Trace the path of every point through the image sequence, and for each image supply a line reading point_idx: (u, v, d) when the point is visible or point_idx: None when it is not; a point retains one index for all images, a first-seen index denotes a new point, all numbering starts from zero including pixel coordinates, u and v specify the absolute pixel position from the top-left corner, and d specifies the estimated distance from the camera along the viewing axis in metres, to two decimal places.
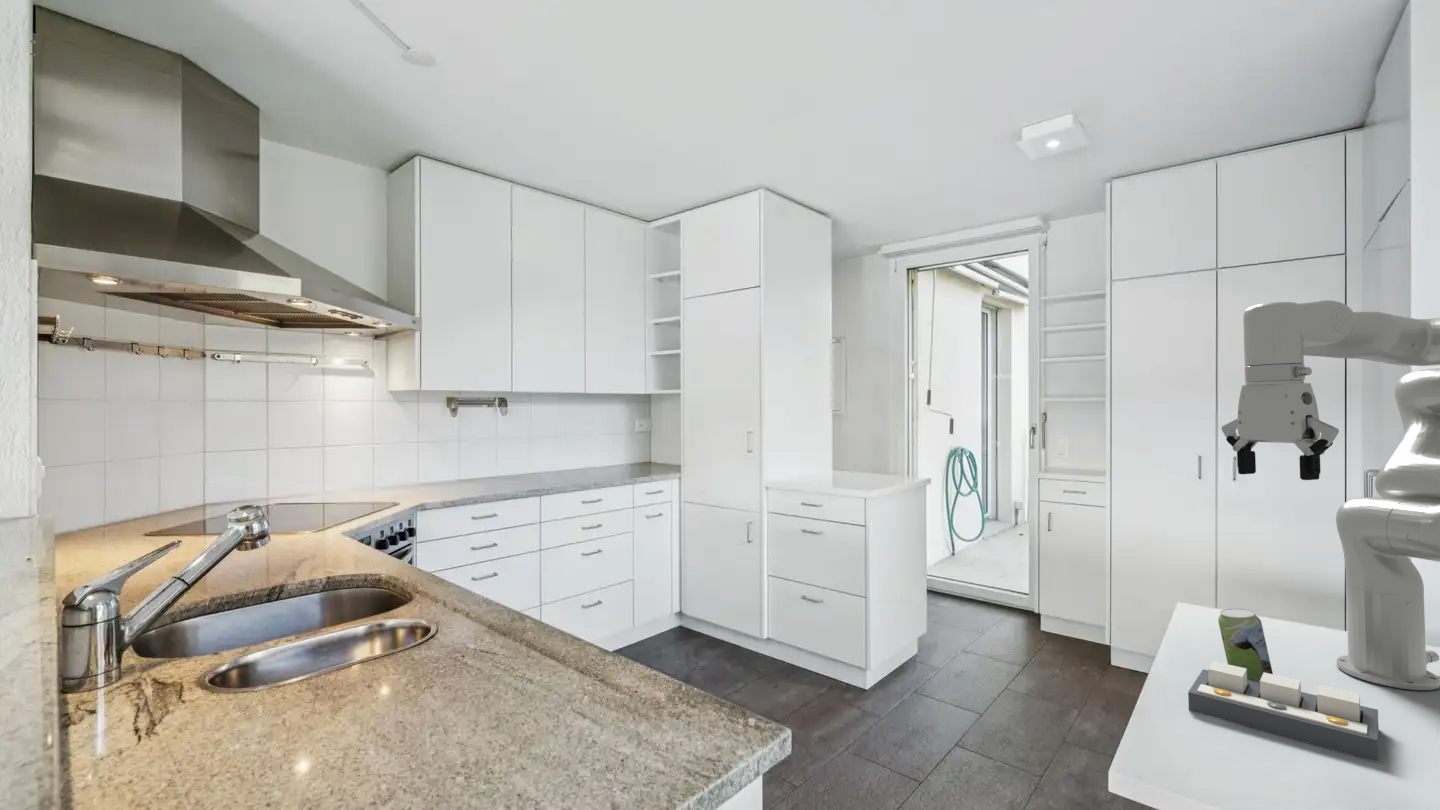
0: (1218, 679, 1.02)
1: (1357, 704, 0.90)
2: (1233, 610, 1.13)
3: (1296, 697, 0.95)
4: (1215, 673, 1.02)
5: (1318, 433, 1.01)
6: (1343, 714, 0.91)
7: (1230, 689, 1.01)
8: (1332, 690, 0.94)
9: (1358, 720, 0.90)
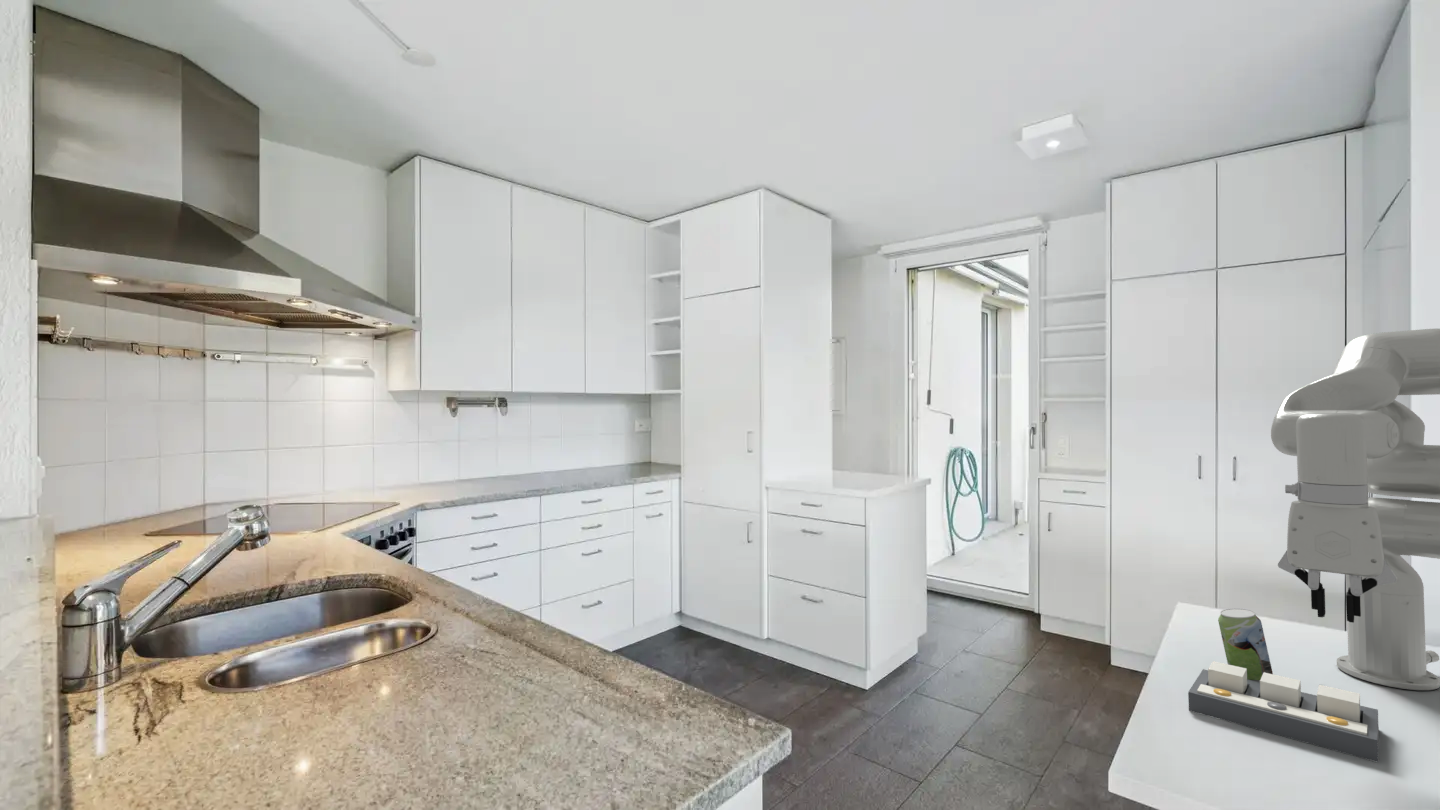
0: (1218, 679, 1.02)
1: (1357, 704, 0.90)
2: (1233, 610, 1.13)
3: (1296, 697, 0.95)
4: (1215, 673, 1.02)
5: (1287, 556, 0.96)
6: (1343, 714, 0.91)
7: (1230, 689, 1.01)
8: (1332, 690, 0.94)
9: (1358, 720, 0.90)
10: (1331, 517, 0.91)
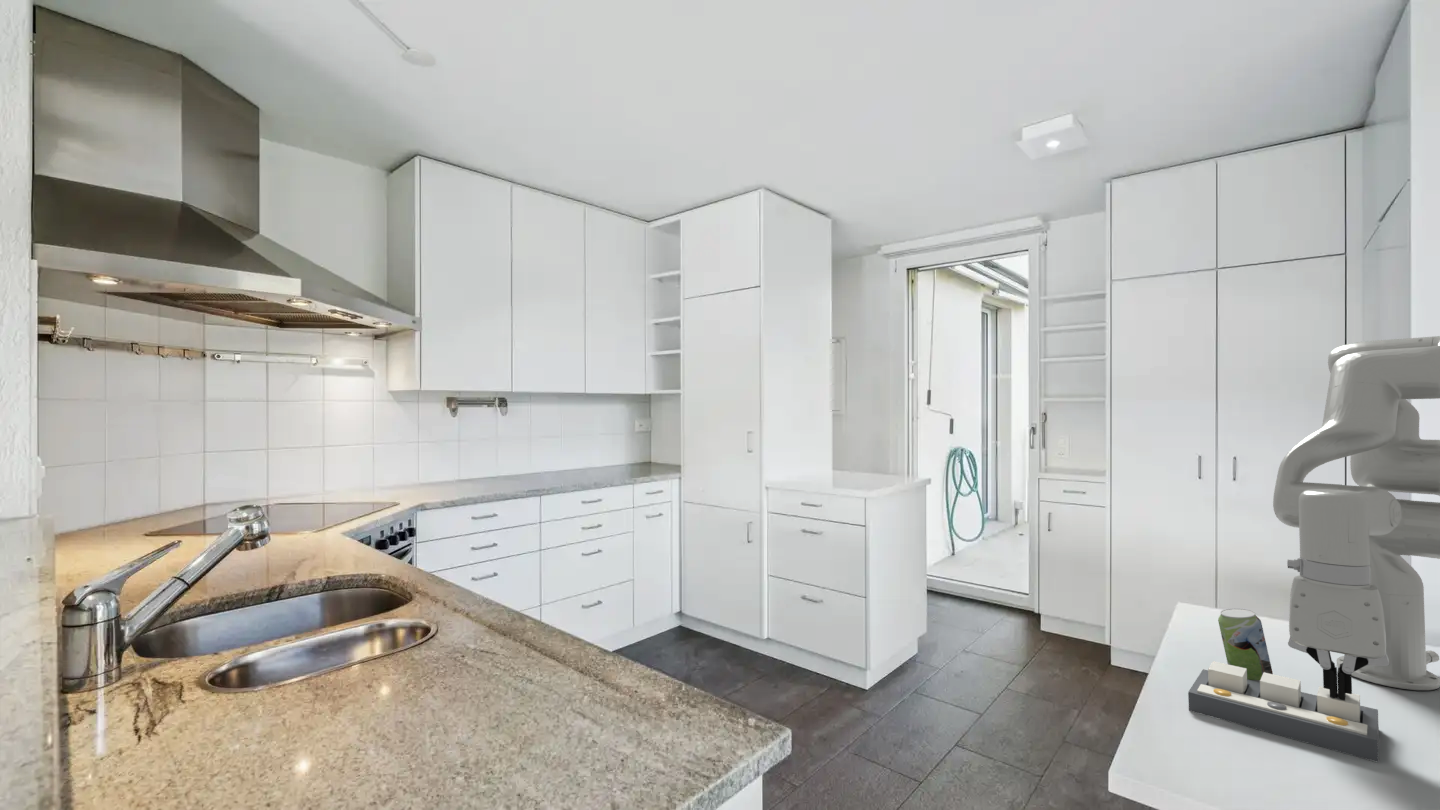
0: (1218, 679, 1.02)
1: (1357, 706, 0.90)
2: (1233, 610, 1.13)
3: (1296, 697, 0.95)
4: (1215, 673, 1.02)
5: None
6: (1343, 716, 0.91)
7: (1230, 689, 1.01)
8: None
9: None
10: (1333, 597, 0.91)
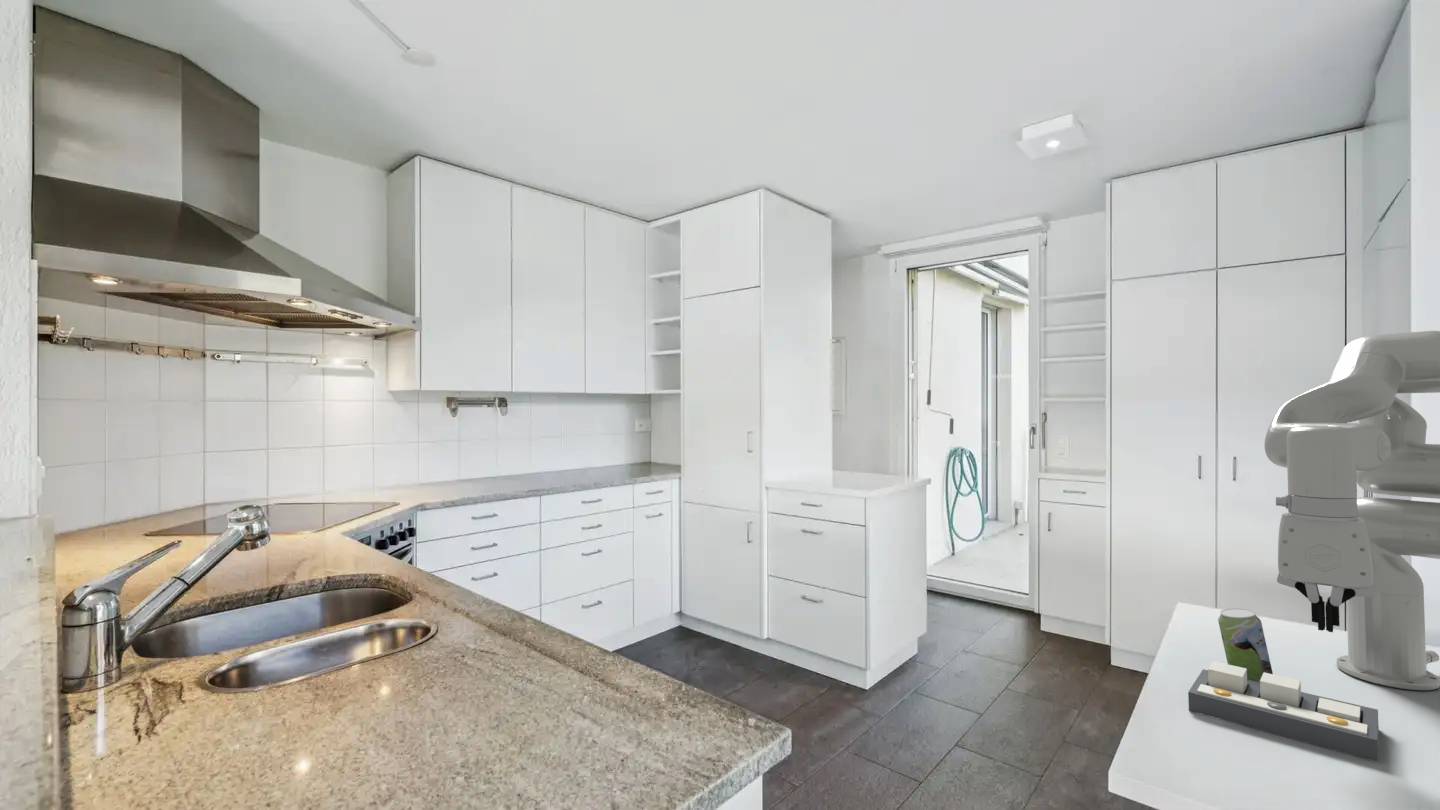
0: (1218, 679, 1.02)
1: (1357, 718, 0.90)
2: (1233, 610, 1.13)
3: (1296, 697, 0.95)
4: (1215, 673, 1.02)
5: (1278, 568, 0.96)
6: None
7: (1230, 689, 1.01)
8: (1332, 703, 0.94)
9: None
10: (1321, 530, 0.92)
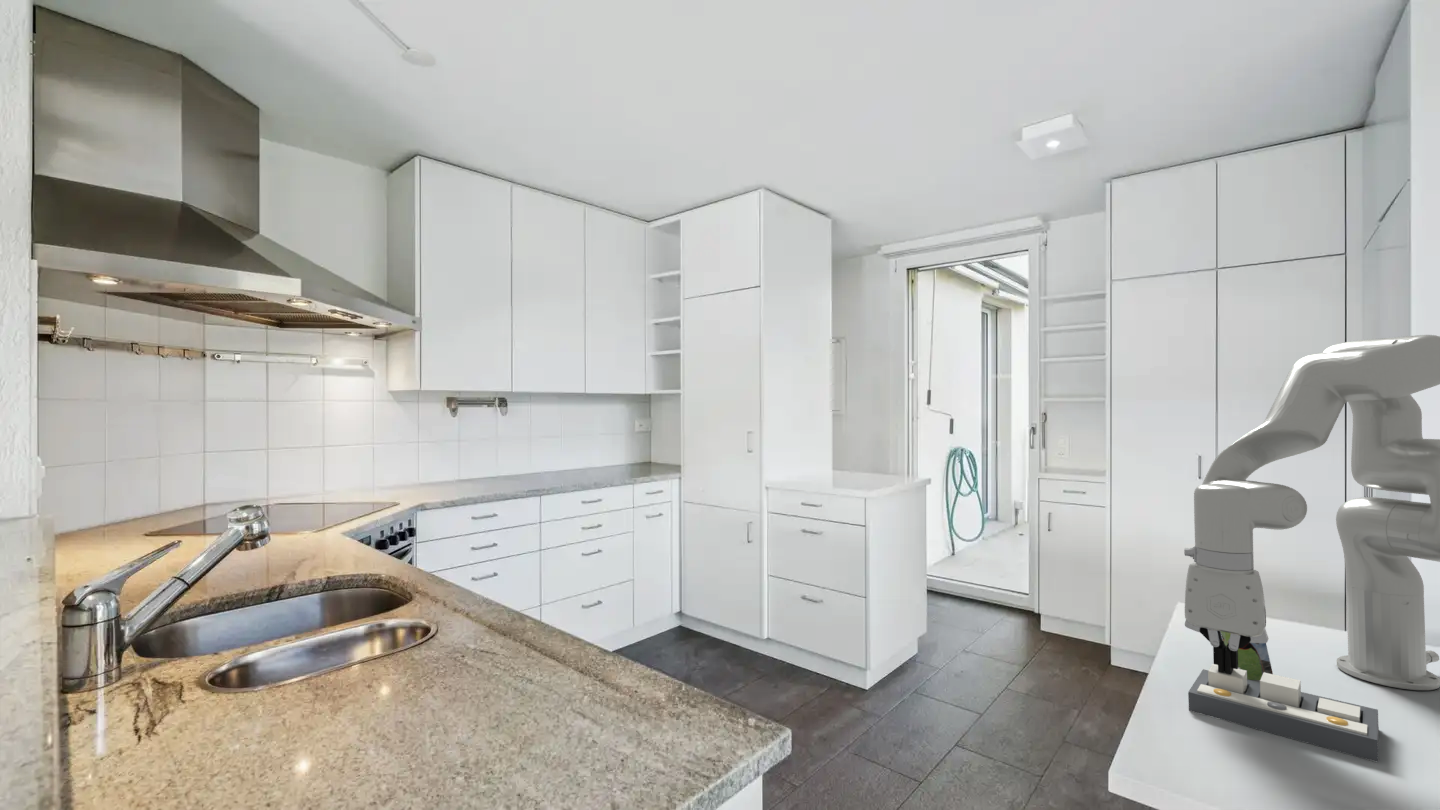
0: (1218, 681, 1.02)
1: (1357, 718, 0.90)
2: None
3: (1296, 697, 0.95)
4: (1215, 675, 1.02)
5: None
6: None
7: None
8: (1332, 703, 0.94)
9: None
10: (1220, 581, 1.01)
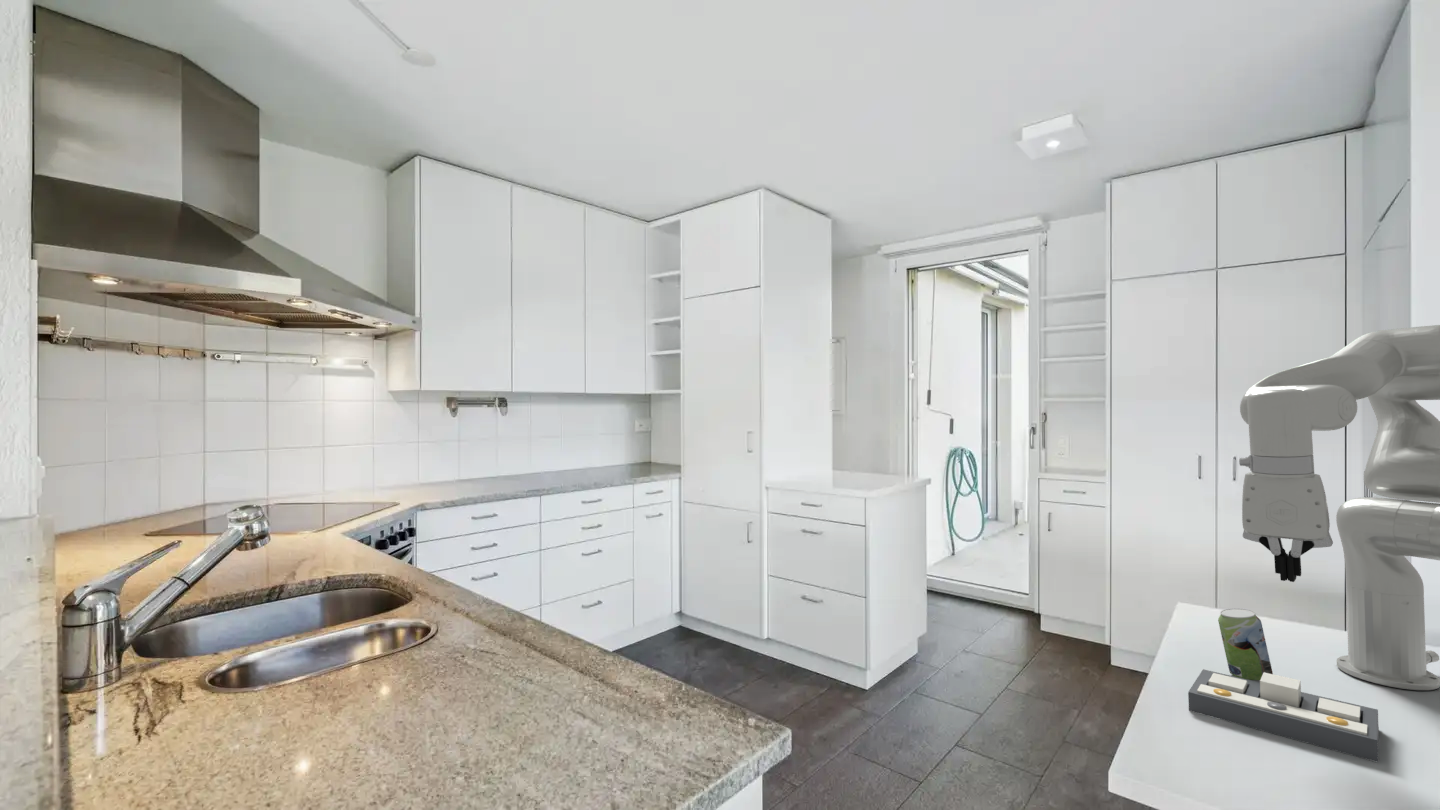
0: None
1: (1357, 718, 0.90)
2: (1233, 610, 1.13)
3: (1296, 697, 0.95)
4: (1215, 685, 1.02)
5: None
6: None
7: None
8: (1332, 703, 0.94)
9: None
10: (1280, 487, 0.98)
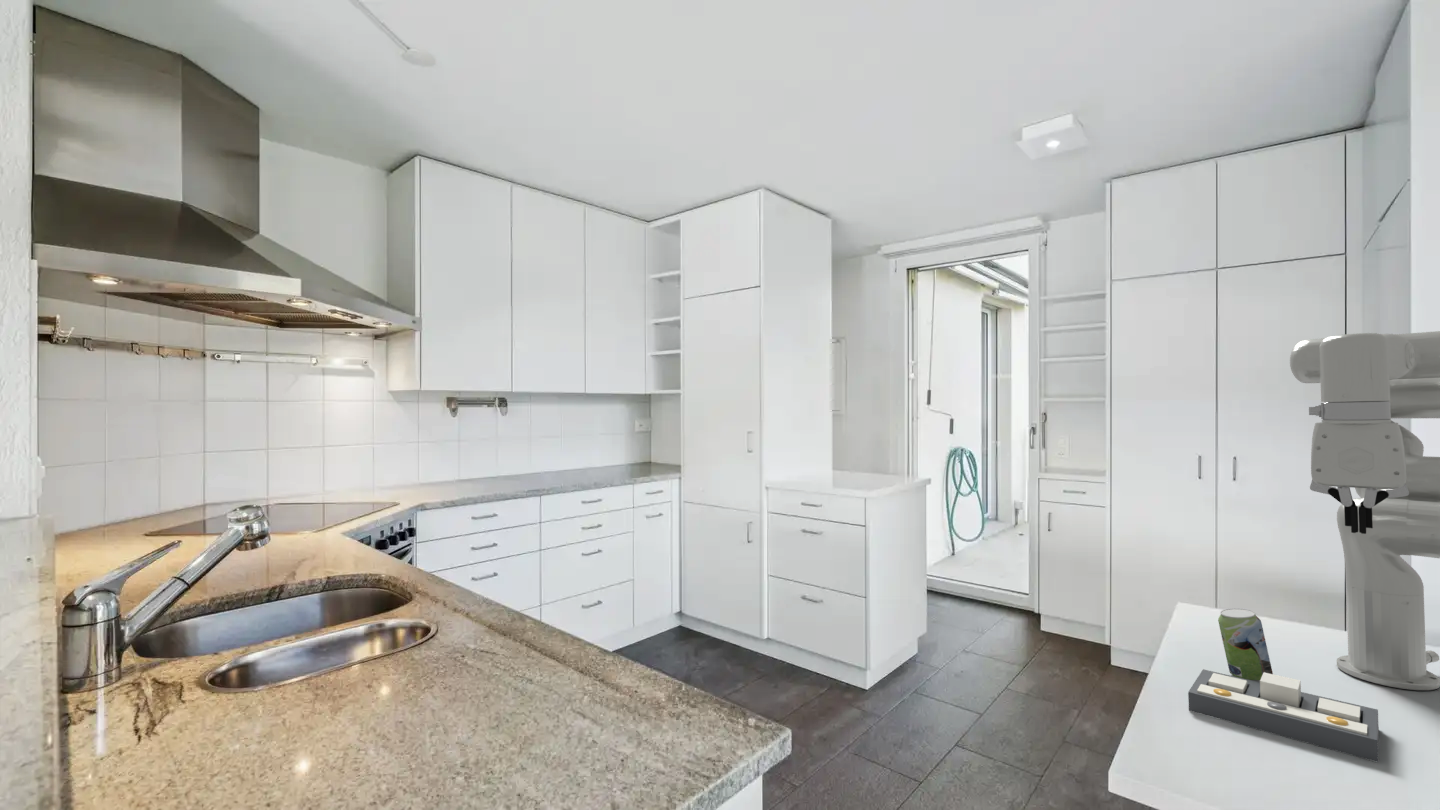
0: None
1: (1357, 718, 0.90)
2: (1233, 610, 1.13)
3: (1296, 697, 0.95)
4: (1215, 685, 1.02)
5: (1311, 475, 0.99)
6: None
7: None
8: (1332, 703, 0.94)
9: None
10: (1355, 434, 0.94)
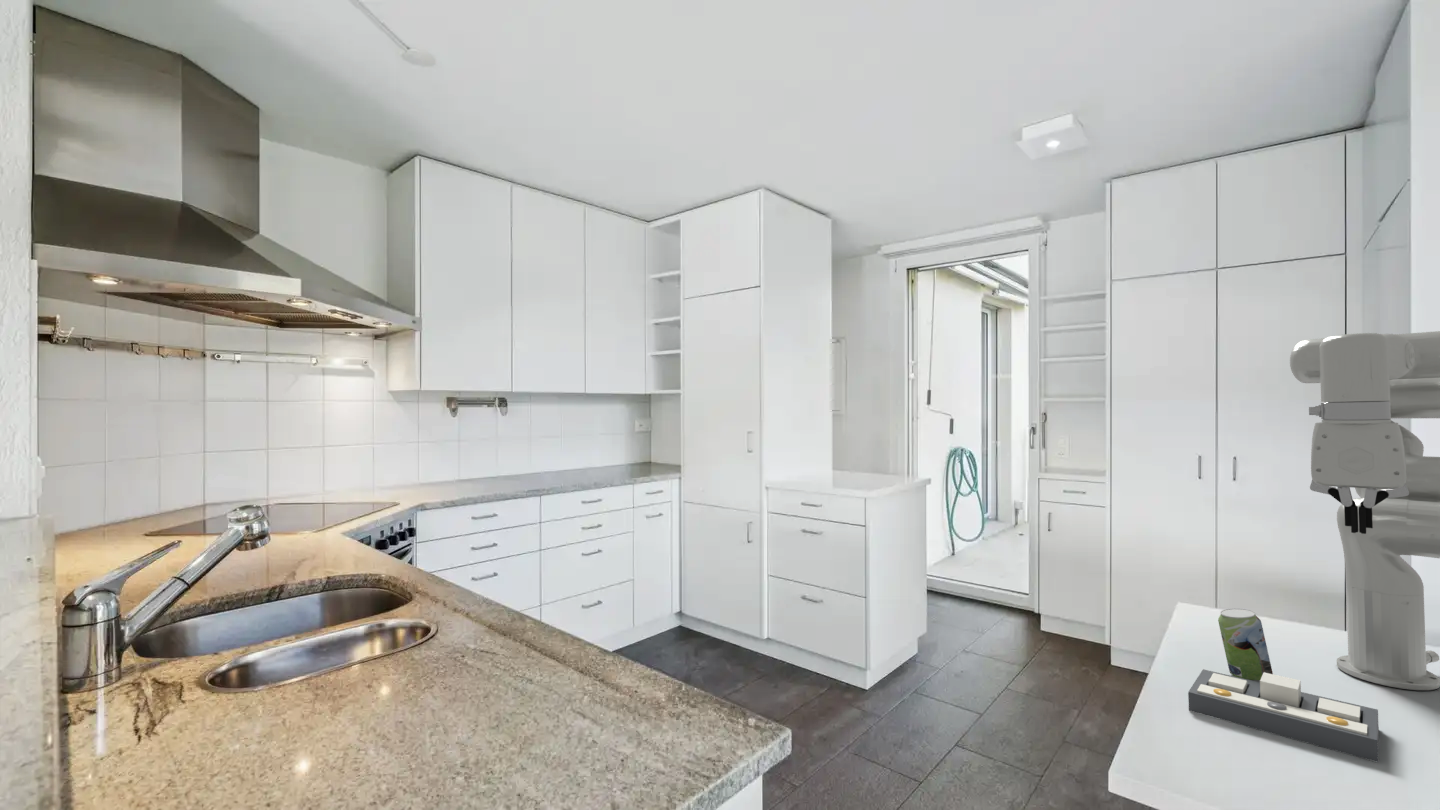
0: None
1: (1357, 718, 0.90)
2: (1233, 610, 1.13)
3: (1296, 697, 0.95)
4: (1215, 685, 1.02)
5: (1311, 475, 0.99)
6: None
7: None
8: (1332, 703, 0.94)
9: None
10: (1355, 434, 0.94)
